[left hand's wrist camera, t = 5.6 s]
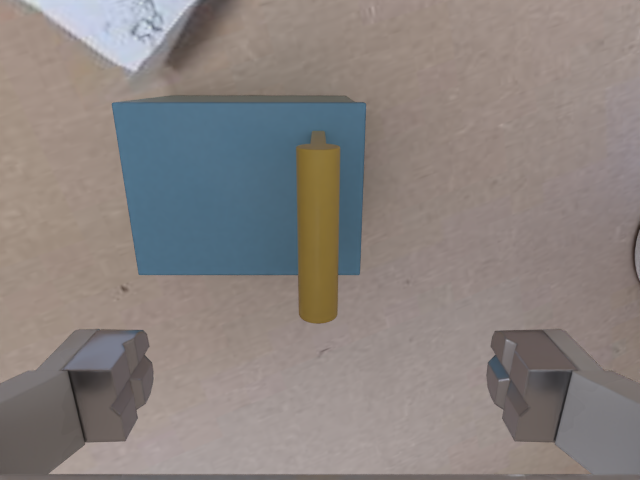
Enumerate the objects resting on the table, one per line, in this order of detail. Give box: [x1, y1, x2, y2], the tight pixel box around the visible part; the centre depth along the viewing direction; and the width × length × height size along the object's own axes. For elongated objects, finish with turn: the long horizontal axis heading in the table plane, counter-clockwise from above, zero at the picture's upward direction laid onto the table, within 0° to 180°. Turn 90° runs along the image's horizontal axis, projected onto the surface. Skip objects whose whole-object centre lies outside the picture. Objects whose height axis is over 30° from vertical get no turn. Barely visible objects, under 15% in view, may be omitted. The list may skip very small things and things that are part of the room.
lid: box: [112, 102, 366, 323], centre depth 21 cm, size 13×10×8 cm
